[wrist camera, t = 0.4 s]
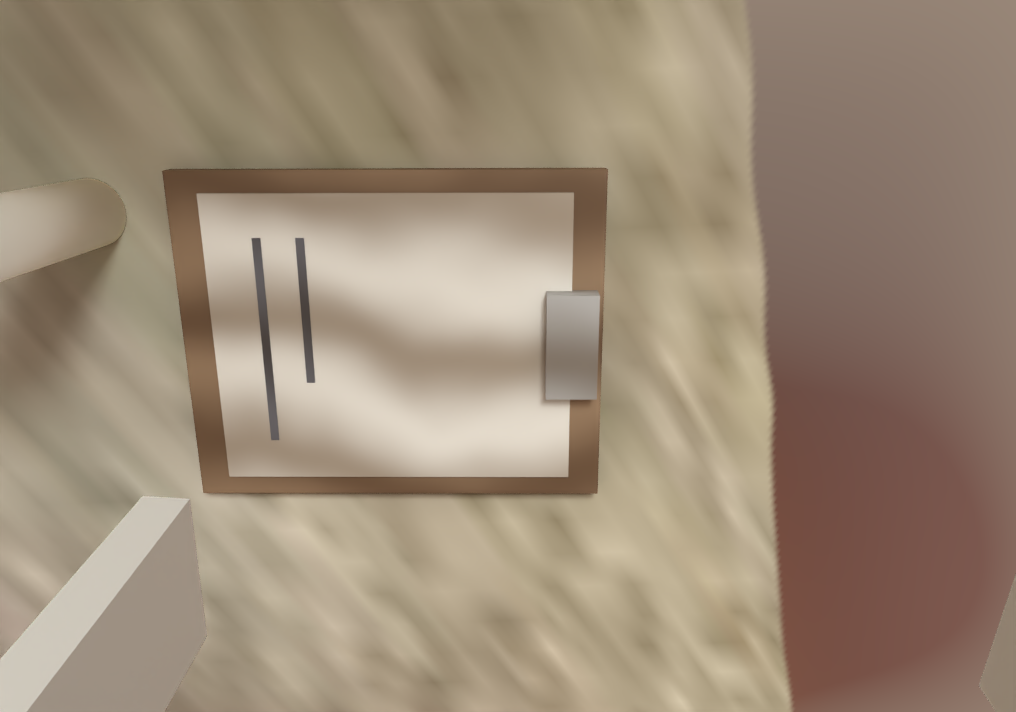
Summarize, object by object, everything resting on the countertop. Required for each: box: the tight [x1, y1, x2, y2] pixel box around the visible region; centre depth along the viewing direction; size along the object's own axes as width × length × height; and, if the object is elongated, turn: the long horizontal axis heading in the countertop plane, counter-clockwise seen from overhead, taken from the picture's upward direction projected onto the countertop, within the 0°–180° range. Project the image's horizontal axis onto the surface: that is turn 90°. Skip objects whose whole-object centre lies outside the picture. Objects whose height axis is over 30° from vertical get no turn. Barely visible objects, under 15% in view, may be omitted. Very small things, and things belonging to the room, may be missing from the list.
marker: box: [0, 178, 126, 282], centre depth 31 cm, size 3×3×14 cm
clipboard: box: [162, 168, 608, 493], centre depth 39 cm, size 16×20×2 cm
